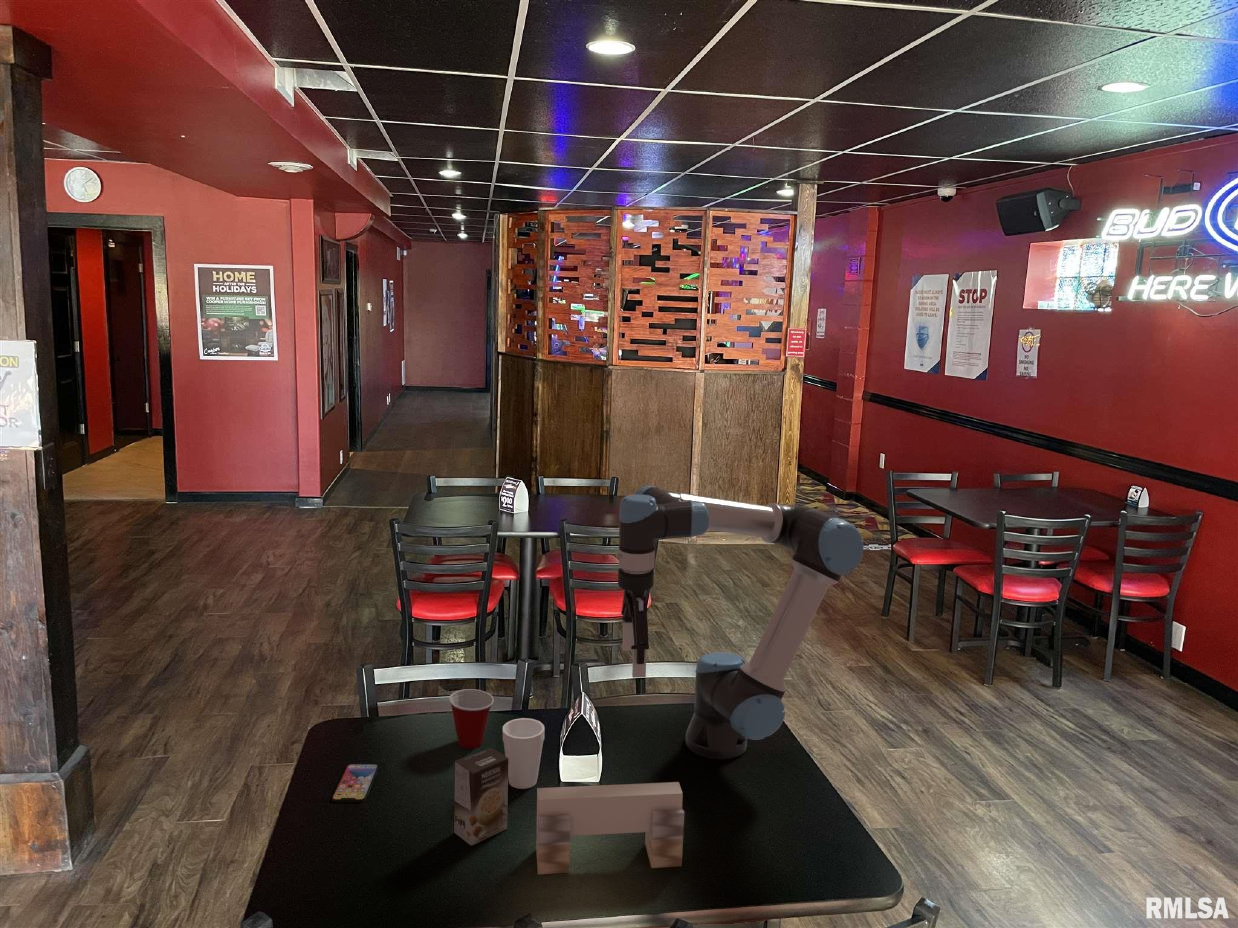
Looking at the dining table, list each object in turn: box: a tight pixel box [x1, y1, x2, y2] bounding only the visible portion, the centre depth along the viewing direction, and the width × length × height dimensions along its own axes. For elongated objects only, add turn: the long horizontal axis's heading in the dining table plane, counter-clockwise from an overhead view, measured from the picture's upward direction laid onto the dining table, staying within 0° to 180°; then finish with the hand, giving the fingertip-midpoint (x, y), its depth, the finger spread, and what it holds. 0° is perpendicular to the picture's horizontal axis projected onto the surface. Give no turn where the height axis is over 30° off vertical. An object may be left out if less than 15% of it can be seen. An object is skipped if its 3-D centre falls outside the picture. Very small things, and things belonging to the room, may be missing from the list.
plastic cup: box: [448, 688, 495, 750], centre depth 216 cm, size 11×11×12 cm
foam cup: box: [502, 717, 546, 790], centre depth 200 cm, size 10×9×13 cm
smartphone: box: [331, 763, 380, 804], centre depth 199 cm, size 7×1×15 cm
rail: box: [536, 781, 684, 838], centre depth 173 cm, size 28×4×8 cm, turn 98°
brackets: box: [535, 809, 685, 875], centre depth 174 cm, size 28×8×12 cm, turn 98°
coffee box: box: [453, 747, 509, 846], centre depth 181 cm, size 9×6×16 cm
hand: (633, 662), depth 191 cm, fingers open, 13 cm apart
